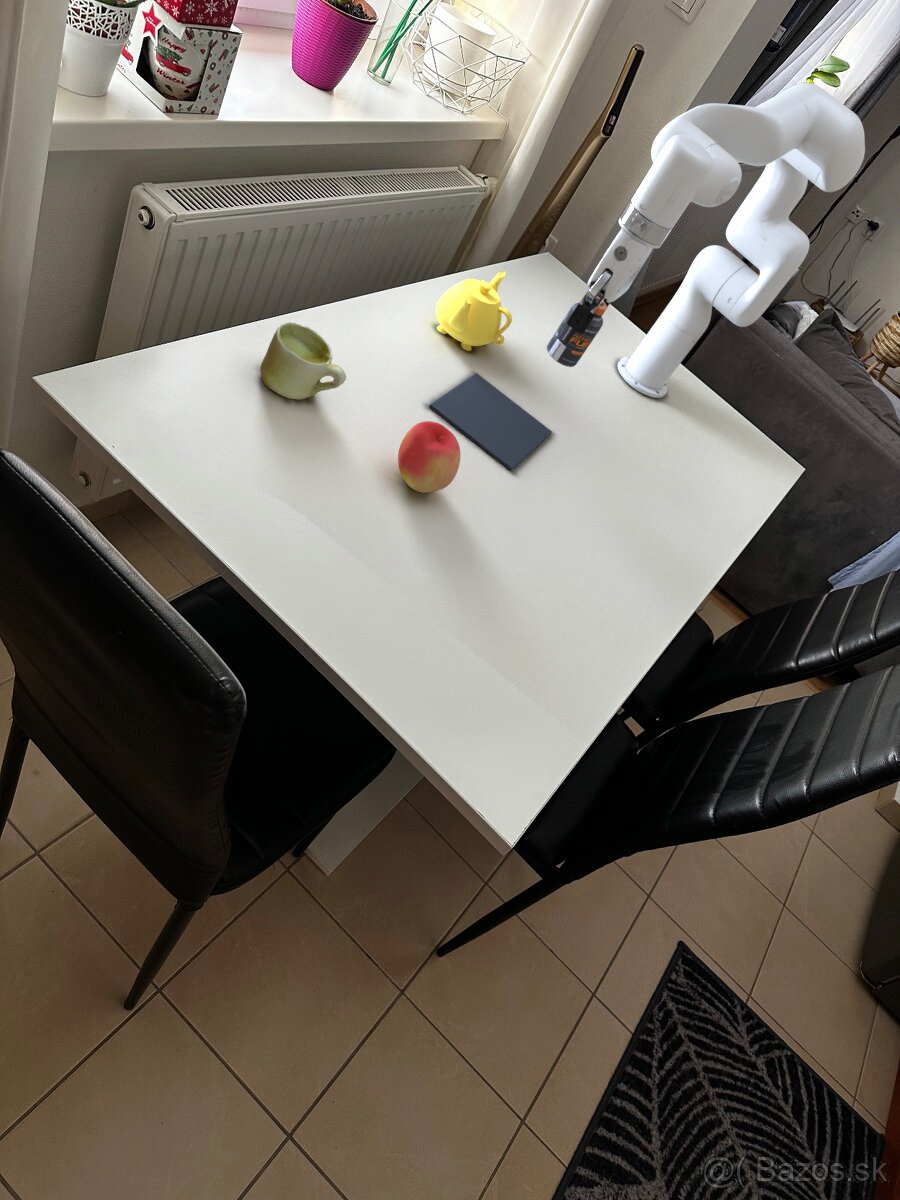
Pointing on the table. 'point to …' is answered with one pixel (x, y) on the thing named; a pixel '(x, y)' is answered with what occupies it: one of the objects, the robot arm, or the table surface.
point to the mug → (299, 363)
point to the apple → (428, 457)
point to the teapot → (473, 312)
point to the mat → (491, 420)
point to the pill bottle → (574, 338)
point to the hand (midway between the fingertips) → (582, 322)
